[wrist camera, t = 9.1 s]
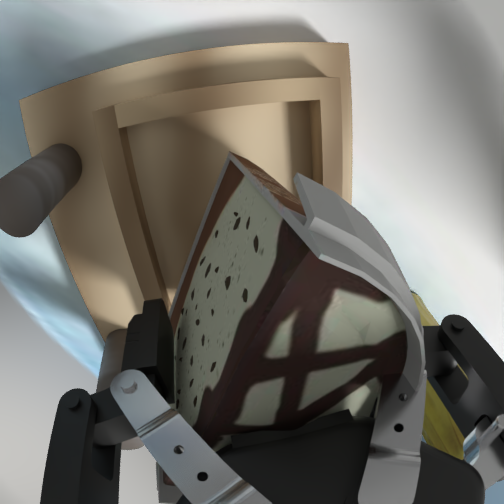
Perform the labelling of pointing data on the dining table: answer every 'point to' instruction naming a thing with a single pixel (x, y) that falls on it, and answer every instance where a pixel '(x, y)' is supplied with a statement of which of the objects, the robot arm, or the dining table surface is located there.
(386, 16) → the dining table surface
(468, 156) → the dining table surface
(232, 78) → the carrier board
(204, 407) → the half lattice cake
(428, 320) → the vase
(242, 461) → the robot arm
